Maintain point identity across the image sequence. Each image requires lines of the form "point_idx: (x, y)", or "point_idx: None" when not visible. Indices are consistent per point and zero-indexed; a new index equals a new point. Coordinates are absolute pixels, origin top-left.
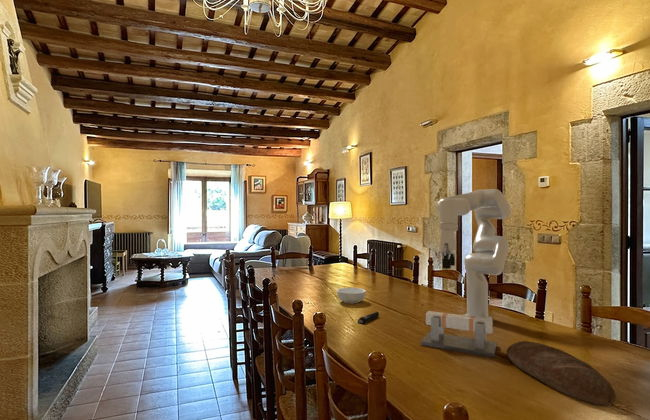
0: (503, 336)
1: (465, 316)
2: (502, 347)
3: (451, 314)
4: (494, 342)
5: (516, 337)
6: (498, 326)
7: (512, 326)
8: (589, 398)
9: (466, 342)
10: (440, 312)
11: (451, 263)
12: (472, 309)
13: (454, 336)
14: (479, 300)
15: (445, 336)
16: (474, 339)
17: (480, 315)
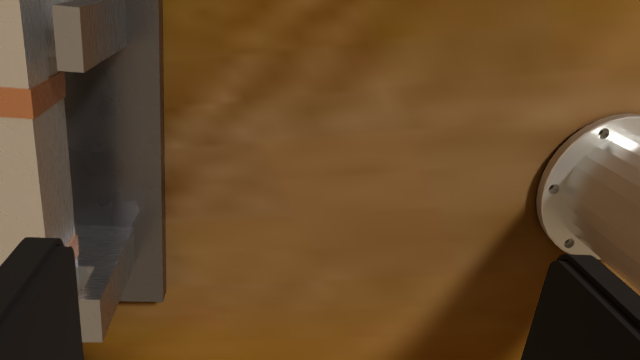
0: (326, 309)
1: (18, 243)
2: (160, 311)
3: (11, 148)
4: (152, 293)
5: (334, 353)
6: (484, 285)
7: (501, 336)
8: None
9: (72, 177)
10: (22, 57)
11: (550, 356)
12: (604, 190)
13: (144, 108)
14: (632, 264)
15: (116, 58)
16: (148, 210)
17: (572, 220)
